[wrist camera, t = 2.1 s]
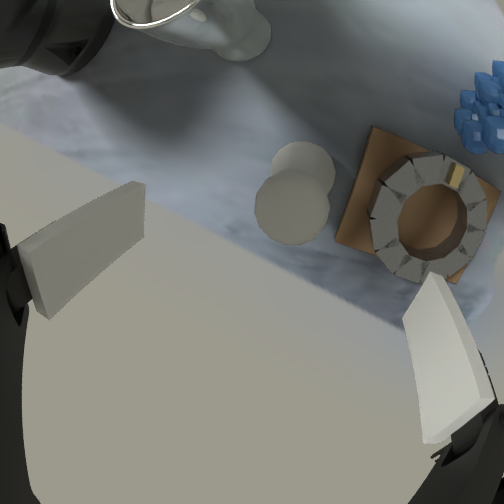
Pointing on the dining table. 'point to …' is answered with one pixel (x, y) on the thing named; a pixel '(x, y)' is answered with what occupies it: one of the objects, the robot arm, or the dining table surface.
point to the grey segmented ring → (392, 200)
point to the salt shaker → (296, 194)
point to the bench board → (415, 207)
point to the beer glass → (200, 24)
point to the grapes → (483, 113)
